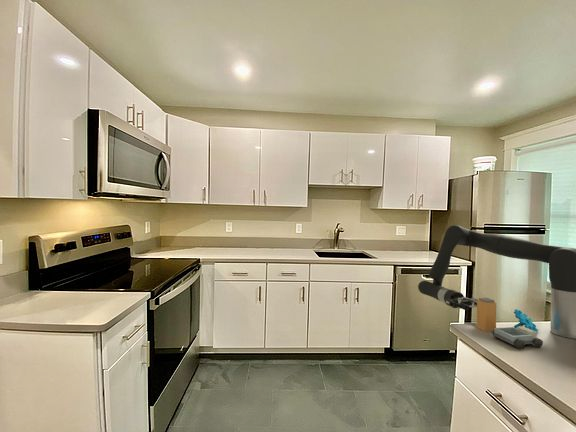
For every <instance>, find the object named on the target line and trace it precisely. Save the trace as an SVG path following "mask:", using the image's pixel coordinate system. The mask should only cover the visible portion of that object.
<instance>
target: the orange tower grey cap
mask: <svg viewBox="0 0 576 432" xmlns="http://www.w3.org/2000/svg"><path fill="white" fill-rule="evenodd" d="M476 328H478V329H479V330H482V331H483V332H484V333H485V332H486V333H489V332H493V330H494V328H497V302H496V301H495V300H494V299H491V298H488V297H478V300H477V307H476Z"/></svg>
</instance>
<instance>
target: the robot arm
mask: <svg viewBox="0 0 576 432" xmlns="http://www.w3.org/2000/svg"><path fill="white" fill-rule="evenodd" d="M456 246H463V247H464V246H465V247H472V248H476V249H477V248H478V249H481V250H484V251H486V252H489V253H492V254H495V255H499V256H502V257H507V258H512V259H518V260H526V261H527V260H529V261H537V262H541V263H545V264H548V278H549V282H550V332H551V333H552V334H554V335H557V336H560V337H563V338H568V339H576V247H575V248H574V247H571V246H570V247H569V246H568V247H566V246H560V245H559V246H558V245H549V244H544V243H539V242H536V241H532V240H528V239H524V238H520V237H516V236H510V235H505V234H501V233H500V234H499V233H498V234H497V233H484V232H483V233H482V232H477V231H474V230H471V229H468V228H466V227H463V226H461V225H459V224H458V225H457V224H453V225H450V226H449V227H448V228H447V229H446V231H445V233H444V236H443V239H442V242H441V245H440V248H439V251H438V254H437V256H436V259H435V261H434V262H433V264H432V266H431V268H430V270H429V272H428V277H429V278H431V279H432V282H431V281H428V280H421V281H420V282H419V283H418V285H417V288H418V291H419V293H421V294H423V295H425V296H428V297H430V298H433V299H435V300H437V301H439V302H442V303H443V304H445V305H447V306H449V307H450V308H453V309H459V310H460V309H461V310H464V311H466V312H468V311H470V308H472V309H474V308H477V300H479V298H478V299H477V298H475V297H471V298H468V297H465V296H464V293H462V292H461V291H459V290H458V291H457V290H455V289H453V288H449V287H445V286H442V285H443V280H444V278H445V277H446V274H447V272H448V270H449V268H450V264H451V258H452V255H453V251H454V250H455V248H456Z"/></svg>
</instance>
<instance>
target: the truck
mask: <svg viewBox="0 0 576 432" xmlns="http://www.w3.org/2000/svg"><path fill="white" fill-rule="evenodd" d="M491 332H492V336H493V337H495V338H496V339H500V340H501V341H504V342H506V343H508V344H510V345H512V346H514V347H515V348H517V349H519V350H522V349H524V348H525V345H533V346H534V347H535V348H538V349H540V348H542V347H543V345H544V342H543V340H542V339H541V338H539V337H538V336H537V335H538V333H537V332H538V331H537V332H536V331H533V330H531V329H529V328H526V327H524V326H519V327H517V328H514V326H513V327H512V326H509V327H508V326H507V327H496V328H494V330H493V331H491Z"/></svg>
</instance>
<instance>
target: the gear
mask: <svg viewBox="0 0 576 432" xmlns="http://www.w3.org/2000/svg"><path fill="white" fill-rule="evenodd" d="M513 314H515V315H514V317H515V318H516V319H518V323H517V324H515V325H514V326H513V327H514V328H516V329H517V327H526V328H528V329H531V330H533V331H536V332H537V334H538V332H539V329H538V328H537V325H536V323H533V318H531V317H528V315H527V314H526V313H523V311H522V310H520V309H517V308H516V309H514V311H513Z"/></svg>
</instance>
